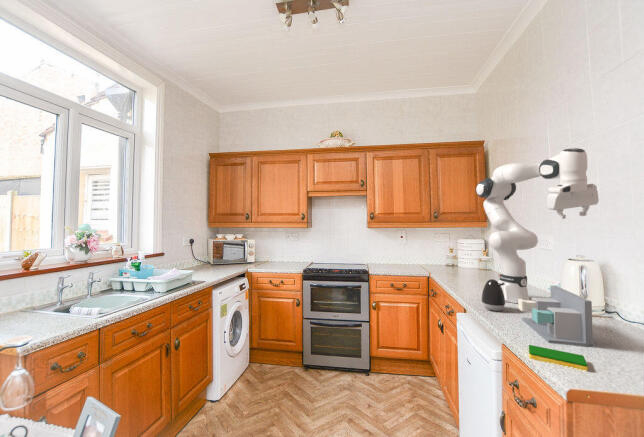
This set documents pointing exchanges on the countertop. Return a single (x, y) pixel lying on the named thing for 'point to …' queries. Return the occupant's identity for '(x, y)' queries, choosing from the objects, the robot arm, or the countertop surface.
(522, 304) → the ivory button
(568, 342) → the grey angled box fixture
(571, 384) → the countertop surface
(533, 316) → the teal button
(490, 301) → the pump dispenser
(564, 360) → the dish sponge
